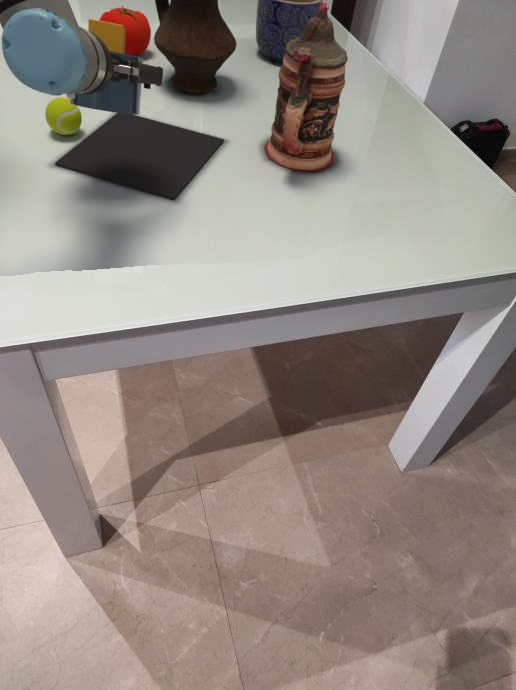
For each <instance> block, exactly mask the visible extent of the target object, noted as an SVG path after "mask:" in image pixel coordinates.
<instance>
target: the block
mask: <svg viewBox="0 0 516 690" xmlns="http://www.w3.org/2000/svg"><path fill="white" fill-rule="evenodd" d="M99 20H100V19H98V20H97V19H94V18H88V25H87V26H88V29H87V30H88V31H90V32H92V33H94V34H95V35H97V36H98V37H99V38H100V39H101V40H102V41H103V42H104V43H105V45H106V46H107V48H108V50H109V51H112V52H117V53H122V54H124V52H125V27H124V26H123V25H119V24H114V23H109V22H104V21H99Z"/></svg>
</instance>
